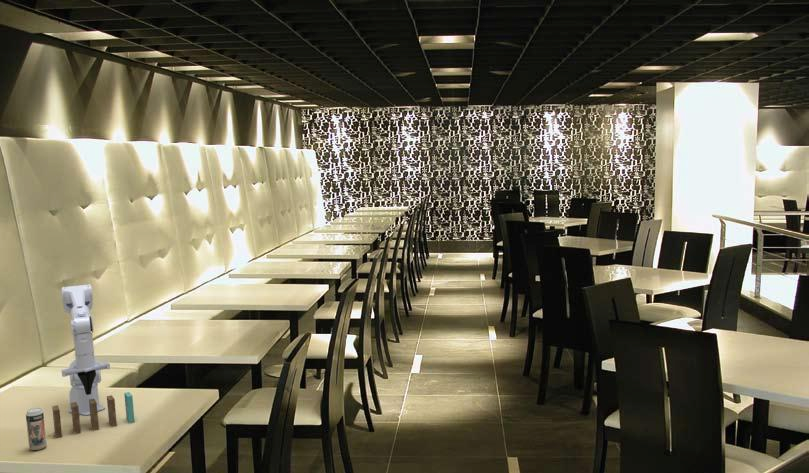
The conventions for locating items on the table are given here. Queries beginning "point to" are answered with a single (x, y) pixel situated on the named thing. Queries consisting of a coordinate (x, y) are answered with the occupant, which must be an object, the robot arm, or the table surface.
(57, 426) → the domino
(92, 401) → the domino
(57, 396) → the table surface
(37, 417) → the beer can
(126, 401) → the domino
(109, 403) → the domino
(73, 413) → the domino
